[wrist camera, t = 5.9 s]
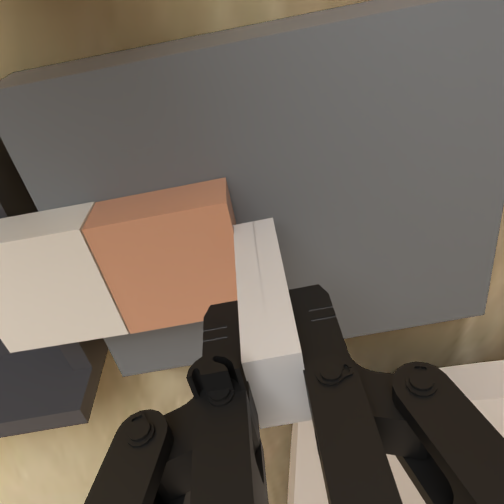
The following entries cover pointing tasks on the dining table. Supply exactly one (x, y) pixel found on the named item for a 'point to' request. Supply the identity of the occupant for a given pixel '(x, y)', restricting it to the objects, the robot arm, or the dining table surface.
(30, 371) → the box
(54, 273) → the tile white
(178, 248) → the tile terracotta
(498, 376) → the board
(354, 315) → the slate board
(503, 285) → the dining table surface
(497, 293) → the dining table surface
